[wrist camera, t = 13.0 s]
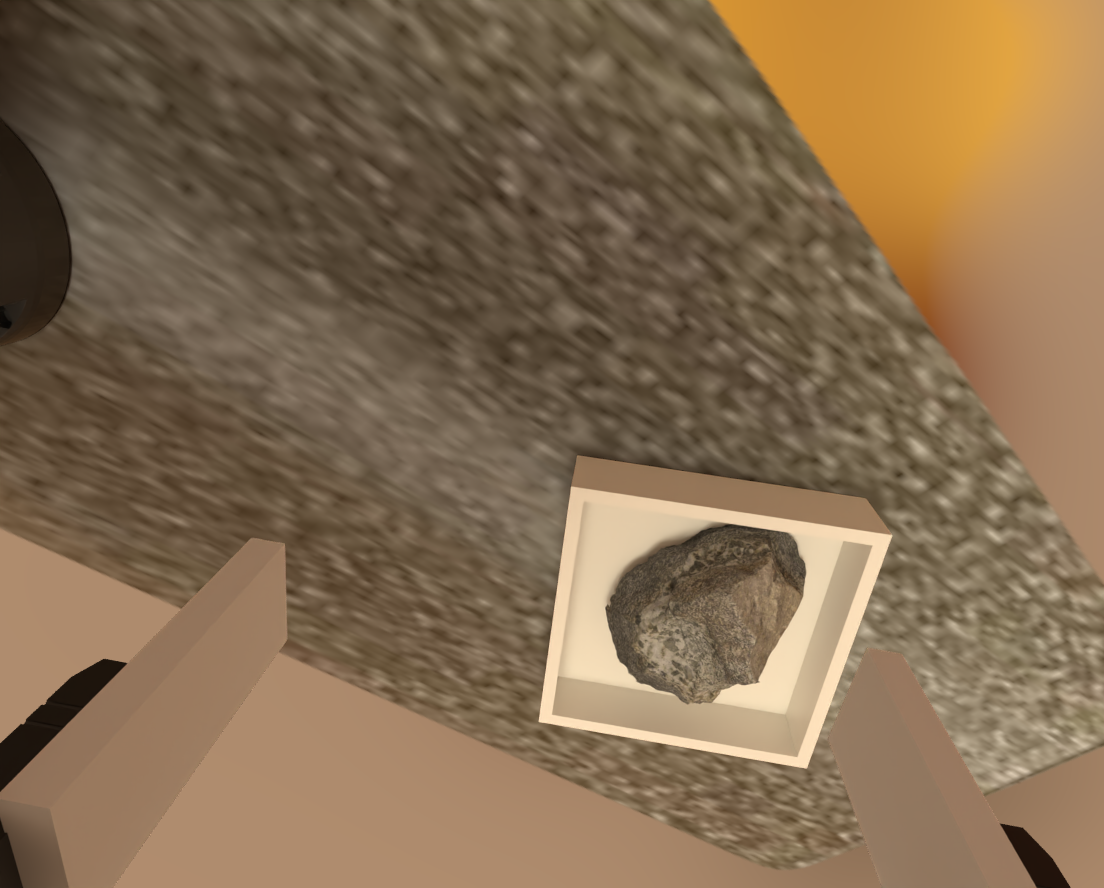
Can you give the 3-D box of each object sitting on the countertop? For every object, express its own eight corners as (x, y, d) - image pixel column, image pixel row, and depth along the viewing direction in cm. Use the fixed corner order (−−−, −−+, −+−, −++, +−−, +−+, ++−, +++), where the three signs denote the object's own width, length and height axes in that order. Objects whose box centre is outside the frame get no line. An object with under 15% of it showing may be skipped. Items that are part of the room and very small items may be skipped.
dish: (546, 675, 47) (538, 721, 43) (577, 455, 41) (571, 486, 37) (791, 716, 46) (806, 768, 42) (865, 498, 40) (892, 535, 35)
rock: (682, 683, 45) (689, 760, 39) (579, 618, 44) (570, 686, 38) (818, 550, 40) (850, 614, 34) (706, 472, 39) (718, 525, 33)
